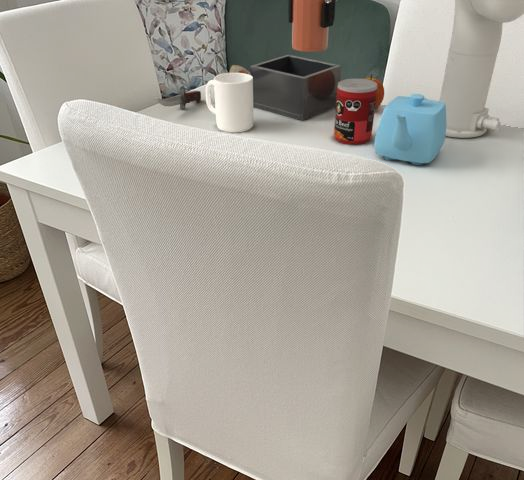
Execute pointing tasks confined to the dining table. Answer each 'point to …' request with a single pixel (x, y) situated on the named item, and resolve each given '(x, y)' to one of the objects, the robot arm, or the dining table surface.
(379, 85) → the fruit
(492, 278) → the dining table surface
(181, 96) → the knife
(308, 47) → the terracotta cup
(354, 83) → the canned food
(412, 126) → the teapot
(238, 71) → the mug
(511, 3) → the robot arm
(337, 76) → the dark grey open box
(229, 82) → the cup
